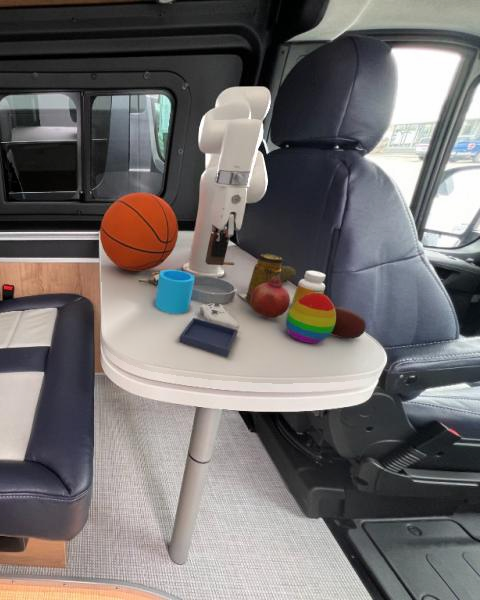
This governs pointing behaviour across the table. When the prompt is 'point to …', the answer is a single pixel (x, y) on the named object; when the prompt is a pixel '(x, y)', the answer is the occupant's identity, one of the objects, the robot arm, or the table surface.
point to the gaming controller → (218, 315)
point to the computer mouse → (155, 278)
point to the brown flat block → (209, 258)
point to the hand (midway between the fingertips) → (216, 254)
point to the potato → (348, 324)
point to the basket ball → (139, 231)
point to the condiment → (263, 272)
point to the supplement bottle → (309, 285)
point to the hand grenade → (286, 273)
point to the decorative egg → (311, 318)
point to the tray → (209, 337)
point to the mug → (174, 291)
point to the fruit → (270, 299)
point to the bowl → (212, 290)
